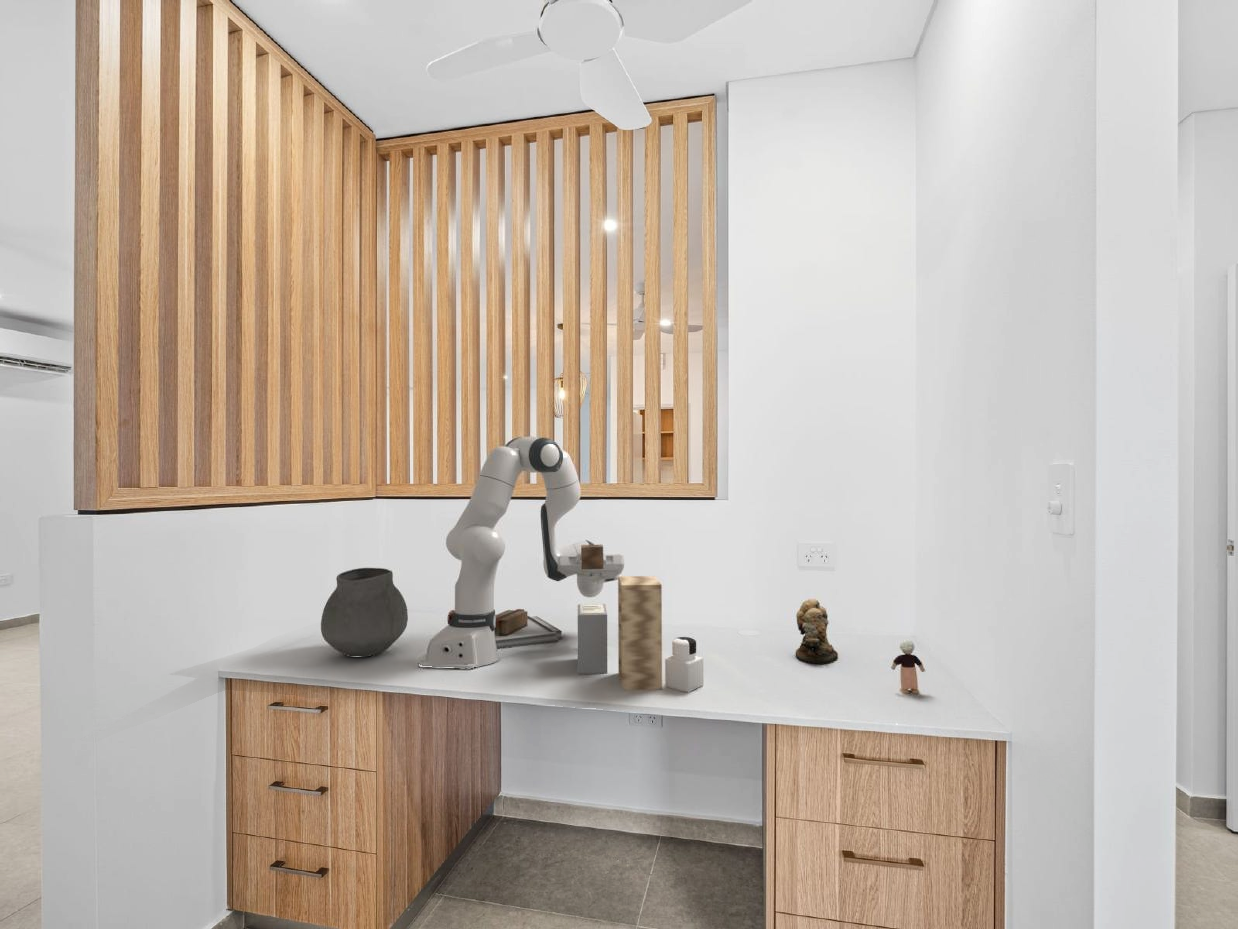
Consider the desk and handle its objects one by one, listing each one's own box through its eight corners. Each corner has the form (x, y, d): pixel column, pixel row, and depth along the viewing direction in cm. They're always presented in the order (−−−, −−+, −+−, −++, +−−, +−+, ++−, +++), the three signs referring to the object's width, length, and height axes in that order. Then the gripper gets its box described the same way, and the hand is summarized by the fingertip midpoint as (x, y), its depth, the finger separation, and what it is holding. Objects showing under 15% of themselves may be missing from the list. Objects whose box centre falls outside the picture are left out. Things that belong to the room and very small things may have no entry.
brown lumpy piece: (836, 668, 175) (835, 606, 175) (792, 664, 179) (791, 603, 179) (838, 651, 192) (837, 594, 192) (798, 647, 196) (797, 592, 196)
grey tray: (451, 632, 218) (451, 611, 218) (534, 623, 232) (534, 602, 232) (472, 654, 191) (472, 629, 192) (564, 642, 205) (564, 619, 205)
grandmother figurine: (918, 688, 157) (918, 637, 157) (926, 694, 153) (926, 641, 154) (888, 689, 157) (887, 638, 157) (895, 694, 153) (895, 642, 153)
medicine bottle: (680, 679, 165) (680, 633, 165) (704, 685, 160) (703, 638, 160) (664, 687, 159) (664, 639, 159) (688, 693, 155) (688, 643, 155)
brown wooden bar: (581, 569, 173) (581, 547, 173) (581, 560, 191) (580, 540, 191) (603, 568, 174) (603, 547, 174) (601, 560, 191) (600, 540, 191)
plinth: (577, 673, 170) (577, 614, 170) (577, 659, 184) (577, 603, 184) (607, 673, 170) (607, 613, 171) (605, 658, 184) (605, 603, 185)
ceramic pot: (300, 662, 182) (301, 575, 182) (358, 641, 205) (359, 563, 206) (371, 669, 175) (372, 578, 175) (423, 646, 198) (424, 566, 198)
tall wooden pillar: (622, 690, 157) (621, 585, 157) (618, 673, 171) (618, 576, 171) (662, 689, 157) (661, 584, 158) (655, 672, 171) (654, 576, 172)
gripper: (557, 562, 200) (556, 544, 188) (622, 561, 201) (624, 543, 189) (557, 581, 197) (556, 564, 185) (622, 579, 198) (625, 563, 186)
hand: (591, 553), depth 187 cm, fingers closed on brown wooden bar, 4 cm apart
